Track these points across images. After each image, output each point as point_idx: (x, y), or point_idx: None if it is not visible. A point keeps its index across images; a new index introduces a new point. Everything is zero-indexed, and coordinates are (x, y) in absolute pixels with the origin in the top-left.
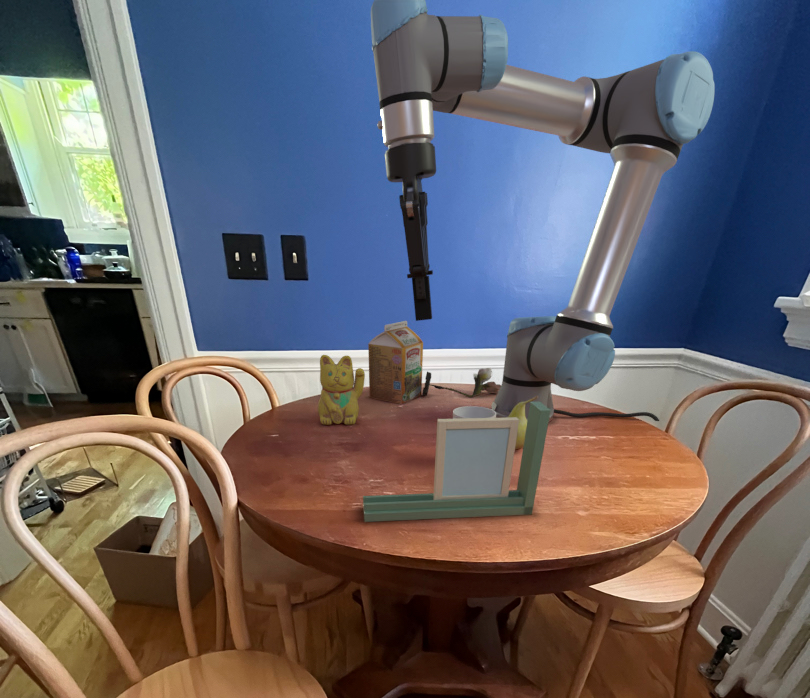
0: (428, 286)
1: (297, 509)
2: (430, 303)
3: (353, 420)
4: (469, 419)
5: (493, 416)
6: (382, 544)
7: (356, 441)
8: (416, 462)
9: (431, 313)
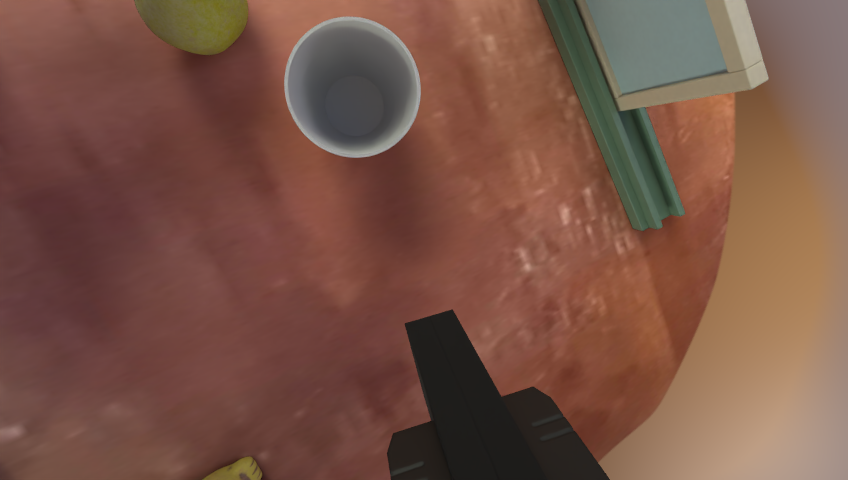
0: (518, 430)
1: (663, 321)
2: (455, 359)
3: (250, 462)
4: (735, 4)
5: (370, 21)
6: (721, 152)
7: (351, 393)
8: (409, 221)
9: (426, 332)
